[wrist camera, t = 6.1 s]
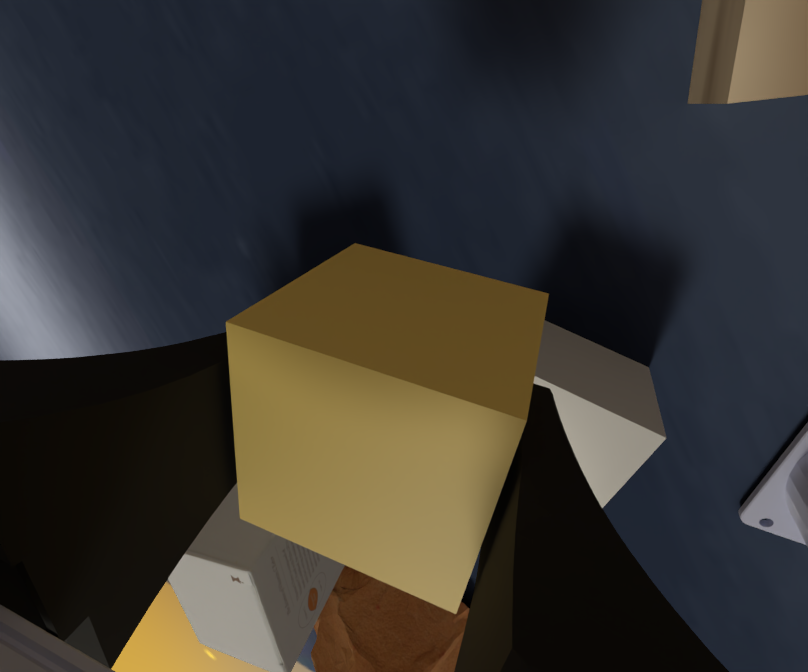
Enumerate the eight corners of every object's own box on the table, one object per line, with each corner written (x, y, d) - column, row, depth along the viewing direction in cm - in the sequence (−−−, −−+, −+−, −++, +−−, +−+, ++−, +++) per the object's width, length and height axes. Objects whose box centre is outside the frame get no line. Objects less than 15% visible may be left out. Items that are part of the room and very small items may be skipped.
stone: (336, 607, 42) (244, 681, 34) (387, 486, 37) (296, 537, 29) (463, 751, 35) (386, 889, 26) (546, 622, 30) (484, 740, 22)
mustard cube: (549, 293, 10) (527, 421, 6) (496, 448, 13) (456, 614, 9) (354, 242, 12) (225, 322, 7) (341, 394, 14) (240, 517, 10)
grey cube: (648, 366, 19) (666, 438, 15) (589, 442, 22) (590, 521, 18) (541, 317, 20) (530, 373, 16) (496, 397, 23) (477, 463, 19)
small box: (279, 405, 29) (144, 538, 20) (358, 416, 27) (247, 571, 18) (302, 497, 32) (196, 646, 23) (373, 513, 30) (287, 683, 21)
